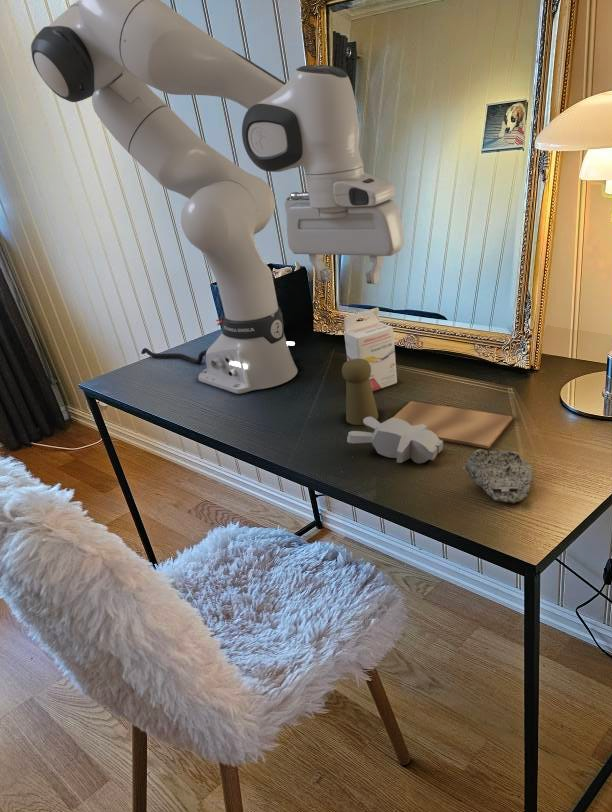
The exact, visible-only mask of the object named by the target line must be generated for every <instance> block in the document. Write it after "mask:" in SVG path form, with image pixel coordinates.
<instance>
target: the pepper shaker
mask: <svg viewBox="0 0 612 812" xmlns="http://www.w3.org/2000/svg"><path fill="white" fill-rule="evenodd" d="M341 375H342V377H343V379H344V380H345V384H346V385H345V420H346V422H347V423H348V424H350V425H353V426H366V425H365V424H364V423H363V420H364V418H366V417H373V418H374V419H376V420H377V421H378V418H379V411H378V408H377V404H376V400H375V396H374V391H372V388H371V384H370V380H369V377H370V375H371V366H370V364H369V363H368V361H367V360H364V359H351V360H348V361H347V360H346V361H345V362H344V363H343V365H342V367H341Z"/></svg>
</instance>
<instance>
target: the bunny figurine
mask: <svg viewBox="0 0 612 812" xmlns="http://www.w3.org/2000/svg"><path fill="white" fill-rule="evenodd" d="M363 423H364V424H365V425H364V426H366V427H368V428H370V429H372V430H374V431H373V432H369V431H360V430H351V431H349V432H348V434H347V438H346V442H347V443H348V444H368V443H371V444H372V446H373V448H374V449H375V451H376V453H377V454H379V455H381V456H383V457H386V458H391V459H396V463H399V464H402V463H403V462H405V461H407V460H409V459H411V460H412V461H413V462H414V463H416V464H424V463H426V462H428V461H429V460H430V461H434V459H435V458H436V457H437V455H439V454H440V452H442V450H443V448H444V447H443V446H444V441H443V440H440V439H439V438H438V437H437V435H436V434H435V433H433V432H432V431H431V430H427V426H426V425H424V424H420V425H416V426H411V425H410V424H409V423H408V422H406V421H404V420H402V419H398V418H393V417H391V418H388V419H386V420H385V421H383V422H380V421H378V419H377V420H376V419H374V418H373V417H366V418H364V420H363Z"/></svg>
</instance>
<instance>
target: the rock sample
mask: <svg viewBox="0 0 612 812" xmlns="http://www.w3.org/2000/svg"><path fill="white" fill-rule="evenodd" d="M465 463H466V464H464V465H463V467H462V469H463V470H465V471H466V473H467V474H468V475H469V478H470V479H471V481H473V482H474V483H475V484H476V485H478V486H479V487H481V488H482V489H483V491H484V493H486V494H487V496H489V497H490V498H492V500H494V501H497V502H502V503H510V504H516V503H518V502H521V501H523V500H524V499H526V498H528V497H529V495H530V488H531V486H530V485H531V484H532V482H534V481H533V478H532V477H533V476H534V475H535V474H534V473H535V471H533V467H532V466H531V464H530V463H529V462H528V461H527V459H525V458H522V457H521V456H520V453H519V452H518V451H514V450H505V449H497V450H491V451H490V450H486V449H482V448H479V449H476V450H475V451H473V452H472V453H471V454H470V456H469V457H468V459H467V460H466V461H465Z"/></svg>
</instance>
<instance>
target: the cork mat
mask: <svg viewBox="0 0 612 812" xmlns="http://www.w3.org/2000/svg"><path fill="white" fill-rule="evenodd" d="M392 418H398V419H402V420H404V421H406V422H408V423H409V424H410V425H411V426H416V425H420V424H424V425H426V426H427V430H431V431H432V432H433V433H435V434H436V435H437V437H438V438H439V439H440V440H442V441H443V442H449V443H454V444H458V445H459V444H460V445H466V446H471V447H477V448H480V449H482V448H483V449H487V450H489V449H490V448H491V446H492V445H493V444H494V443H495V442H496V440H497V439H498V438H499V437H500V436H501V434H502V433H503V432H504V431H505V430H506V428H507V427H508V426H509V424H511V422H512V421H513V419H514V417H513V415H506V414H500V413H492V412H487V411H486V412H485V411H479V410H473V409H466V408H460V407H454V406H448V405H447V406H446V405H441V404H433V403H427V402H422V401H421V402H420V401H414V400H411V401H409V402H408V403H407V404H406V405H405V406H403V407H402V408H401V409H400V410H399V411H398V412H397V413H395V415H394V416H393V417H392Z"/></svg>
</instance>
